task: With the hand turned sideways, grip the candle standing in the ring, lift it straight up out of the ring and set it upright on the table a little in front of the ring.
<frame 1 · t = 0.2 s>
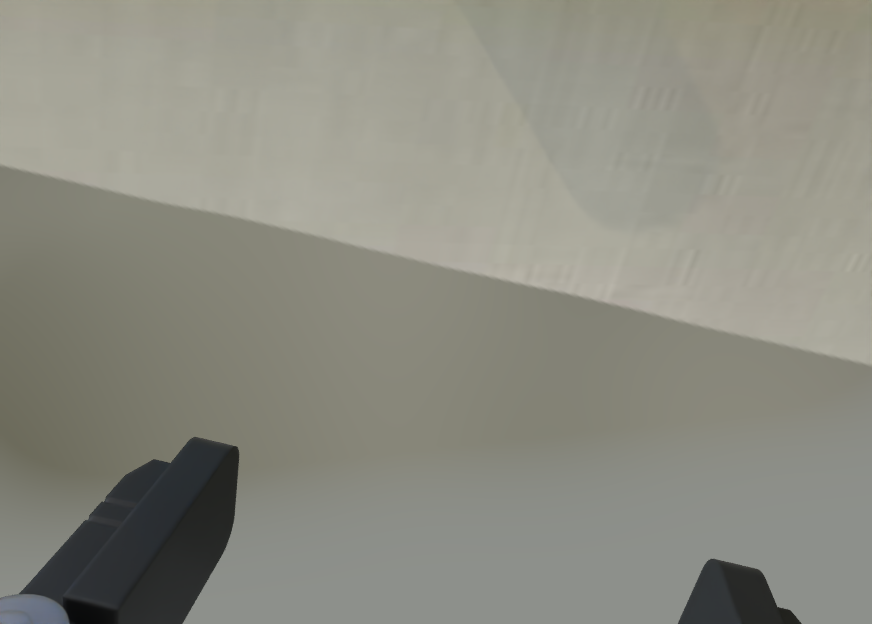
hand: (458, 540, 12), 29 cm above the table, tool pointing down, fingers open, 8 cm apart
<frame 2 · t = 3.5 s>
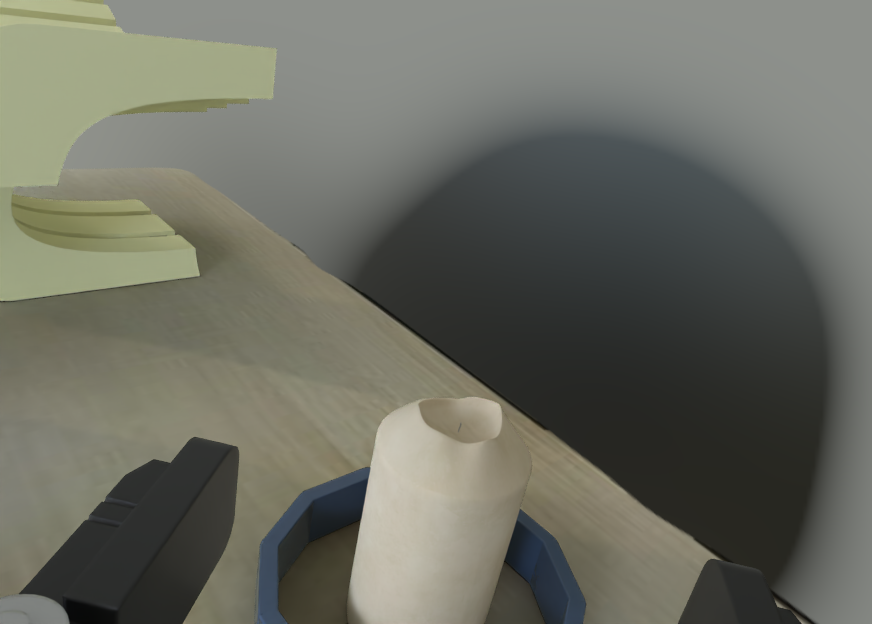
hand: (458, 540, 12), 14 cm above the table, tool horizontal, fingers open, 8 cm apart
slatted curved stool: (56, 256, 51), on the table
ring: (413, 617, 28), on the table
candle: (412, 620, 28), resting in ring
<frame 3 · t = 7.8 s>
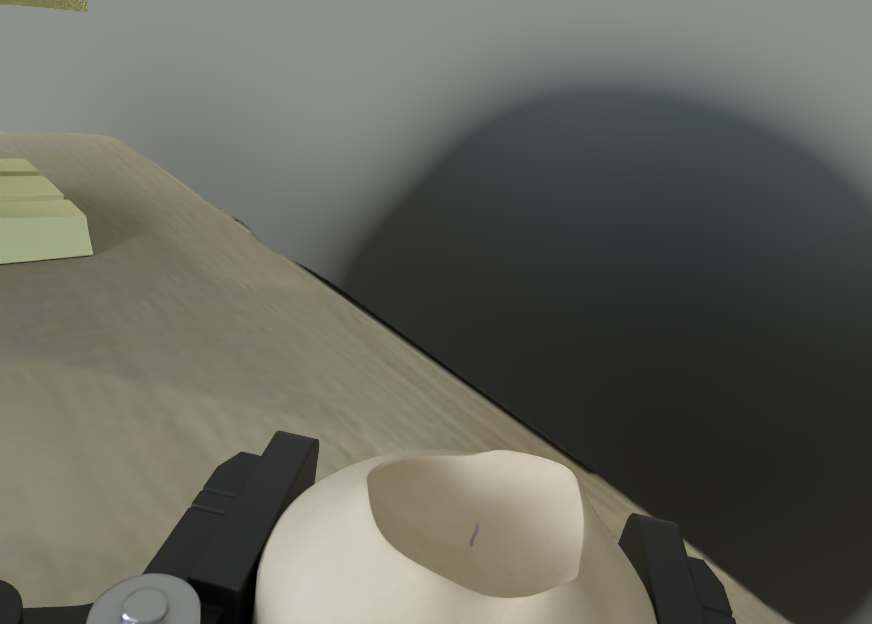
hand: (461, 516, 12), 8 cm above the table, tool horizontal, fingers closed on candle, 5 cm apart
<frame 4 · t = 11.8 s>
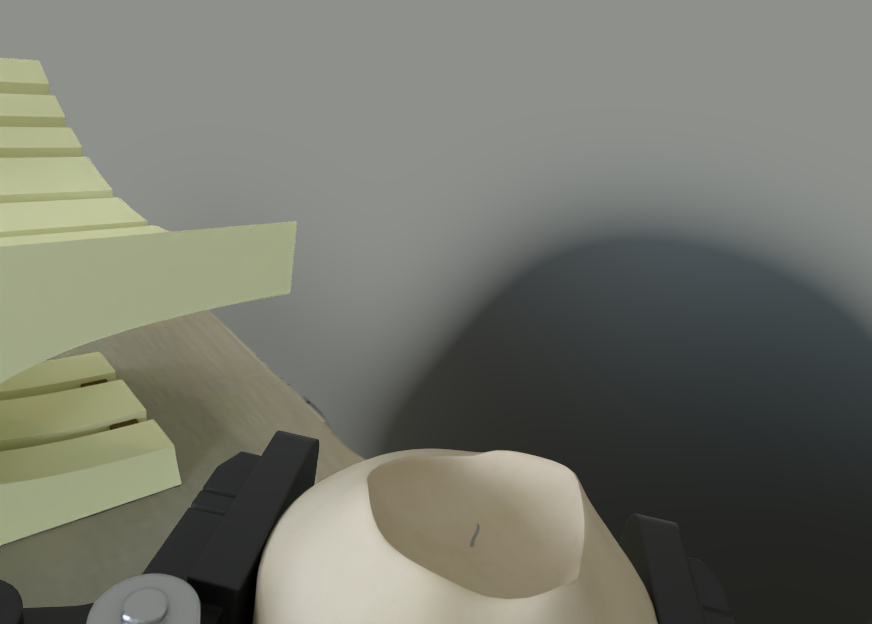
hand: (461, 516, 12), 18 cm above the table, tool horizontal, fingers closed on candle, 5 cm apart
when the fingers open (8 cm above the table, at t = 15.7 s): candle stays where it is, on the table.
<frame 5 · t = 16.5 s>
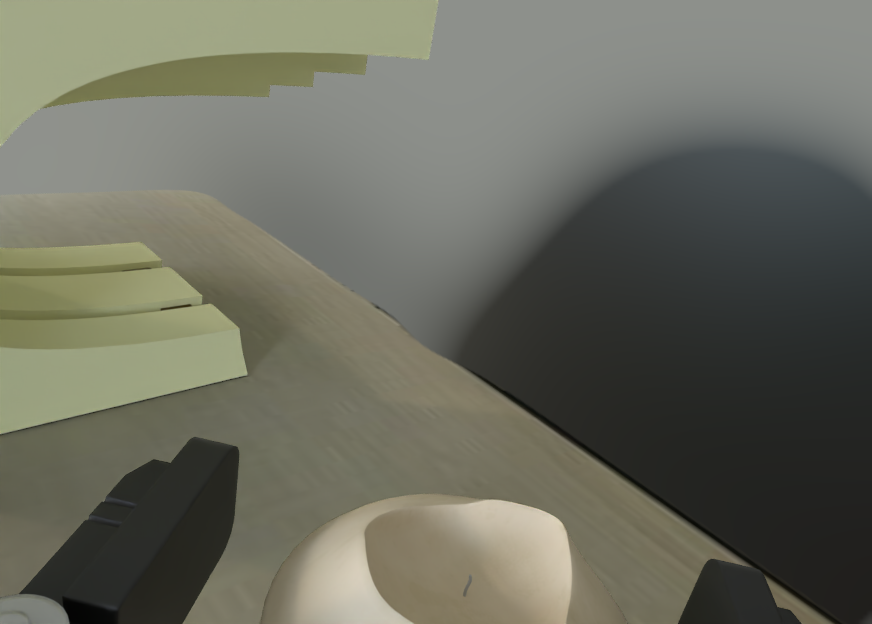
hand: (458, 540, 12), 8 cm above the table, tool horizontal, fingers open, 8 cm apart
slatted curved stool: (5, 348, 30), on the table
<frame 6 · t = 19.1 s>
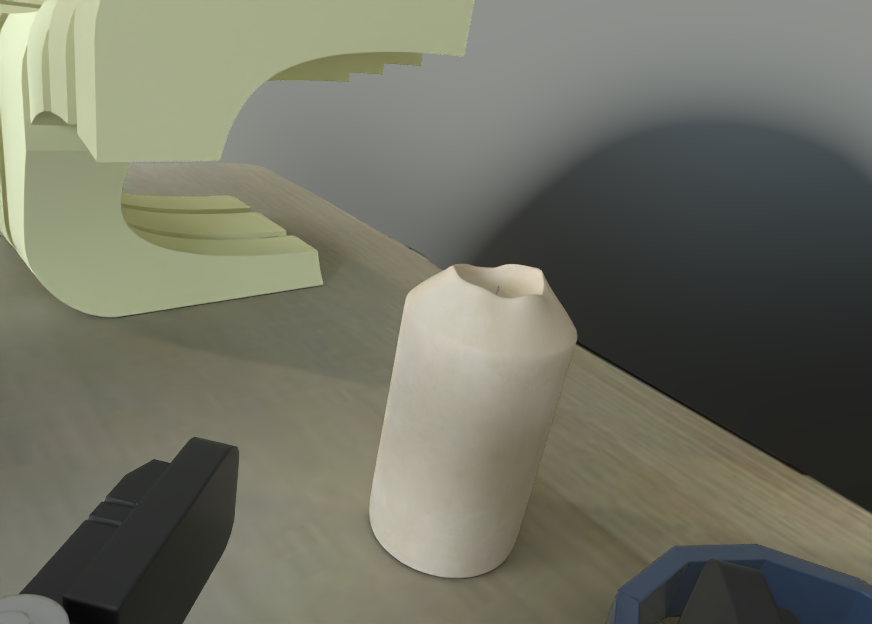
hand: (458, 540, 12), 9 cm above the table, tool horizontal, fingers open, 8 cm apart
slatted curved stool: (151, 262, 42), on the table
candle: (441, 526, 25), on the table
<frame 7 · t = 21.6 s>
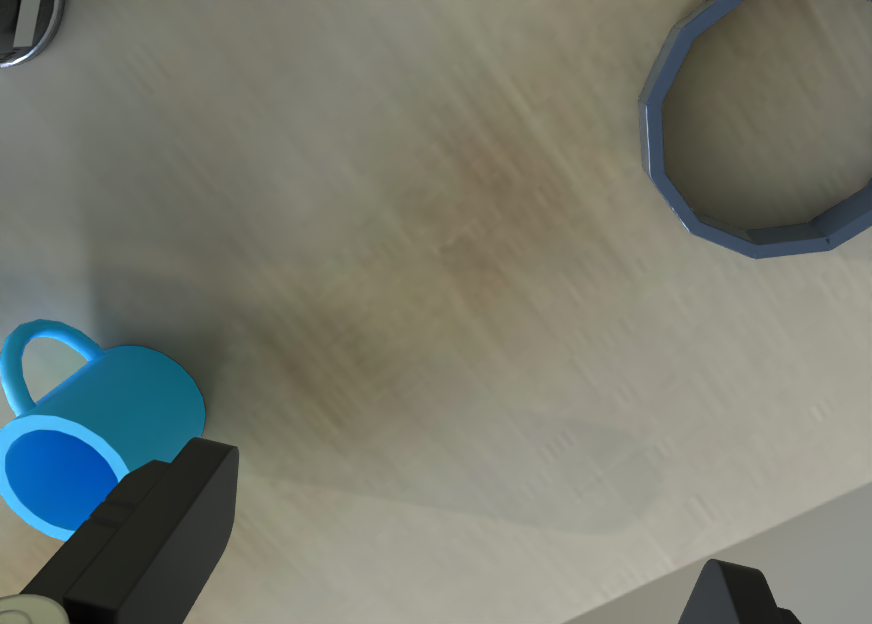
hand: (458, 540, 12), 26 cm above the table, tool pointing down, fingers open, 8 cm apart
ring: (776, 113, 32), on the table
mug: (127, 377, 43), on the table
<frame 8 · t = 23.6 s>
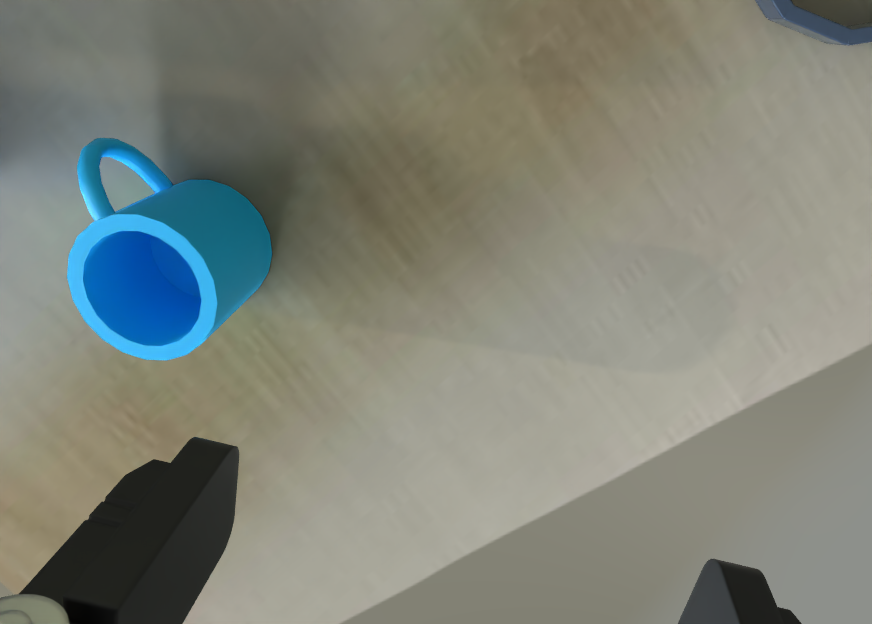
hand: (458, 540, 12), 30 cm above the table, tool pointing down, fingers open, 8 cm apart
mug: (193, 216, 43), on the table
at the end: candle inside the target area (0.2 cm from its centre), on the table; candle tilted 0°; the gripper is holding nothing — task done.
